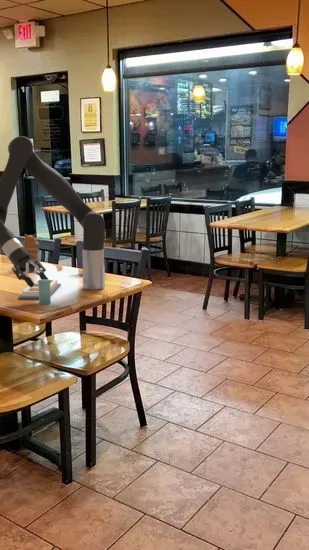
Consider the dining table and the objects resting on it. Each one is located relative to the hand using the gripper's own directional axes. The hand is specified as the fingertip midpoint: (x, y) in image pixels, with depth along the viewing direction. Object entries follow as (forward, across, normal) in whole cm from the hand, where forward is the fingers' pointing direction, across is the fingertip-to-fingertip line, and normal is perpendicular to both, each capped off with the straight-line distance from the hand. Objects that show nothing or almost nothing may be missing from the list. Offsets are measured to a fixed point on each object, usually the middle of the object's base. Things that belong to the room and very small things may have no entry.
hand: (39, 284), depth 208 cm
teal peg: (+7, 0, +4) cm, 8 cm away
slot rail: (-2, +14, +13) cm, 19 cm away
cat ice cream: (-28, +52, +39) cm, 71 cm away
